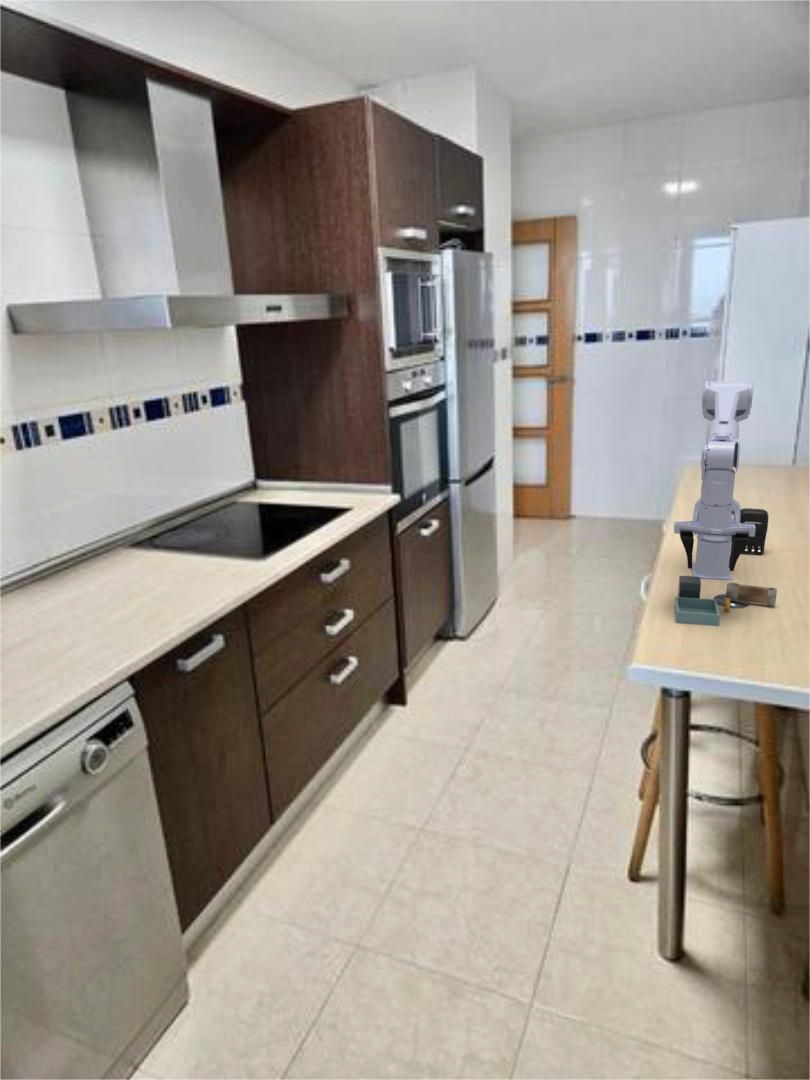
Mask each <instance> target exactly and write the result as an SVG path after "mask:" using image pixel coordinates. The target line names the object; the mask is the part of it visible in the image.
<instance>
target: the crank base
mask: <svg viewBox="0 0 810 1080" xmlns="http://www.w3.org/2000/svg"><path fill="white" fill-rule="evenodd" d="M713 600H716V601H717V604H718V606H720V607H723V612H724V613H727V614H728V613H730V609H744V608H748V607H749V606H750V605H751V602H745V601H730V600H731V599H730V598H726V593H723V594H722V593H721V594H718V595H714V597H713Z"/></svg>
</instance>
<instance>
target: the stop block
mask: <svg viewBox="0 0 810 1080" xmlns="http://www.w3.org/2000/svg"><path fill="white" fill-rule="evenodd" d="M701 588H702V582H701V578H700V577H695V576H694V575H693V576H692V575H679V577H678V590H677V597H684V598H698V599H701Z"/></svg>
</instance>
